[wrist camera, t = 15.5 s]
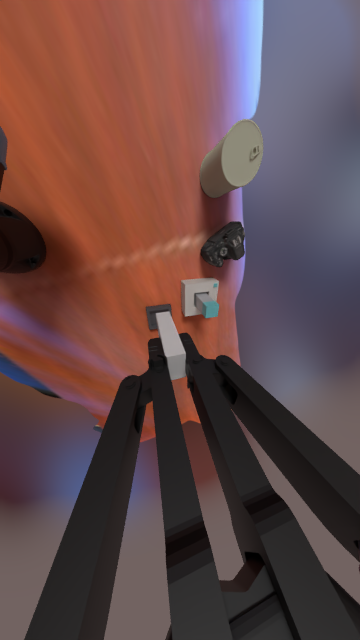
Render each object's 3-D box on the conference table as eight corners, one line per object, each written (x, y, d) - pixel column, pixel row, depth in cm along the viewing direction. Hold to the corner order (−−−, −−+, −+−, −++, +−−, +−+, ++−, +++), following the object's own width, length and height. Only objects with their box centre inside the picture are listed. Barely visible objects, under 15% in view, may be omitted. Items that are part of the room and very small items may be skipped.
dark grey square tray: (149, 327, 56) (149, 329, 55) (145, 306, 52) (146, 309, 50) (171, 323, 58) (172, 326, 56) (170, 303, 53) (171, 306, 52)
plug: (192, 301, 54) (205, 318, 43) (192, 291, 52) (206, 306, 41) (201, 299, 55) (217, 316, 44) (202, 289, 53) (219, 304, 42)
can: (233, 190, 40) (265, 176, 30) (204, 203, 40) (226, 194, 30) (229, 142, 35) (265, 106, 25) (195, 157, 35) (218, 128, 25)
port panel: (181, 310, 56) (185, 317, 52) (181, 280, 50) (185, 285, 45) (209, 306, 58) (215, 312, 54) (212, 277, 52) (219, 281, 48)
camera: (216, 270, 51) (231, 277, 43) (195, 254, 46) (207, 259, 38) (241, 234, 47) (263, 234, 38) (220, 212, 42) (240, 208, 34)
